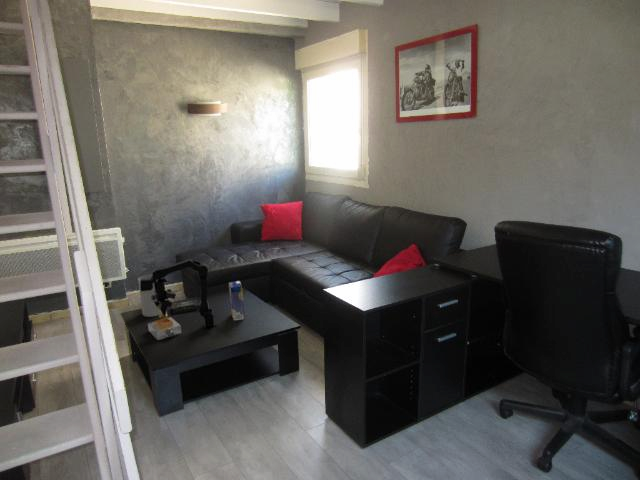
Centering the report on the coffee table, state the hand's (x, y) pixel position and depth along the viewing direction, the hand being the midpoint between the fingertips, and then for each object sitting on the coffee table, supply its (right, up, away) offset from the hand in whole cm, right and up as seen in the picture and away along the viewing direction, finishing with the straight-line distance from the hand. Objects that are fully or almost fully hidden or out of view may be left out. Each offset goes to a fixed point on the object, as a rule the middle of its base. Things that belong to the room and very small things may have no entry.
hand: (163, 314), depth 266 cm
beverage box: (+40, -5, +22) cm, 46 cm away
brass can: (0, -1, 0) cm, 1 cm away
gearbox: (+1, -12, +1) cm, 12 cm away
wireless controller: (+4, -3, +38) cm, 38 cm away
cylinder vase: (-18, -5, +31) cm, 36 cm away
